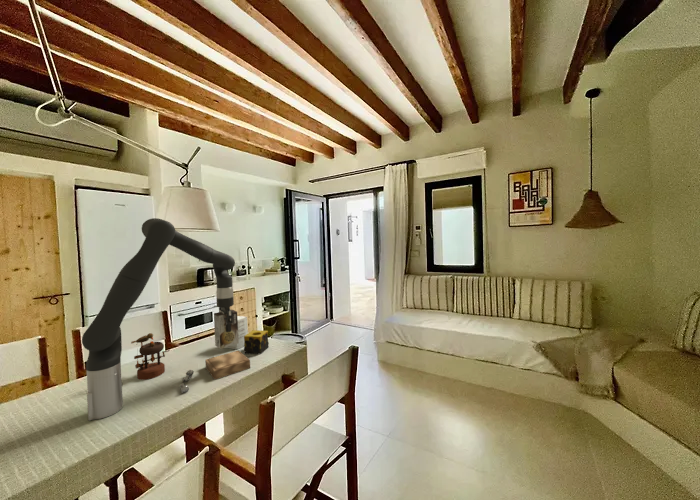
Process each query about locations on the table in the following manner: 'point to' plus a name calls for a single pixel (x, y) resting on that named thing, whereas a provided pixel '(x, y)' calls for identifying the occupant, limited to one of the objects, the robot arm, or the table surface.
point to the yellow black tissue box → (256, 342)
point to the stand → (227, 364)
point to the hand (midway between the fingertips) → (226, 330)
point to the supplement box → (240, 332)
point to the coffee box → (221, 335)
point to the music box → (151, 348)
